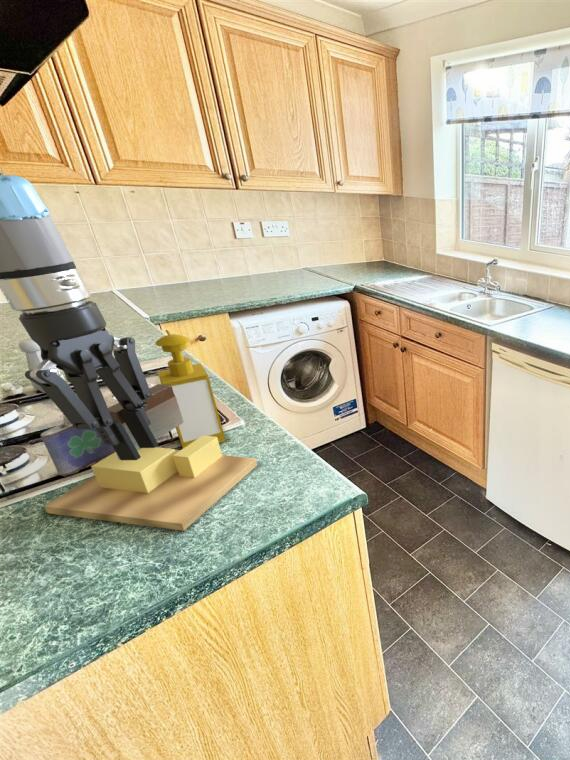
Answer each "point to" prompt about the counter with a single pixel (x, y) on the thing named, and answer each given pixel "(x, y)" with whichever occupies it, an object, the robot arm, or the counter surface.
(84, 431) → the flask
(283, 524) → the counter surface
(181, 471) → the butter pat
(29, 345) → the salt shaker
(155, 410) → the dough scraper
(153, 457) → the butter block
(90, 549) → the counter surface
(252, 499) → the counter surface
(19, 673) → the counter surface
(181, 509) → the butter board
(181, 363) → the soap bottle
